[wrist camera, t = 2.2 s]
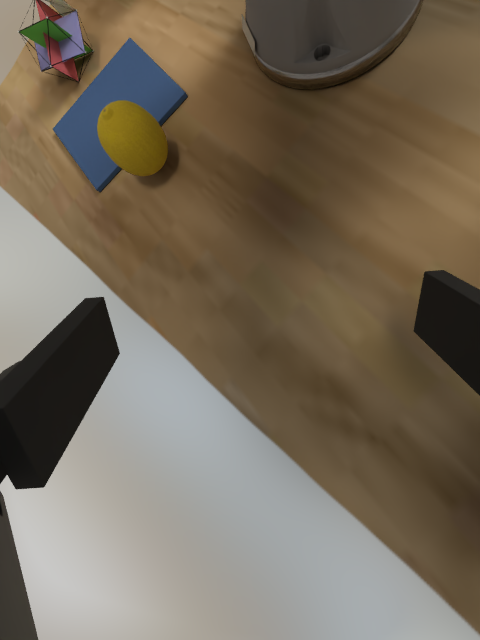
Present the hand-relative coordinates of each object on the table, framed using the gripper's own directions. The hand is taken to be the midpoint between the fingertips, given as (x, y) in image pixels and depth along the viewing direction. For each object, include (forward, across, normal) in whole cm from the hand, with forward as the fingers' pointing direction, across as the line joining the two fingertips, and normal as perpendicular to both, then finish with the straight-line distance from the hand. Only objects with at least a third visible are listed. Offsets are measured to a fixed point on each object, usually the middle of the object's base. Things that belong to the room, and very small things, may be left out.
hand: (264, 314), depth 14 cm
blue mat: (+32, -14, +11) cm, 37 cm away
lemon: (+26, -9, +6) cm, 28 cm away
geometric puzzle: (+39, -19, +17) cm, 47 cm away
